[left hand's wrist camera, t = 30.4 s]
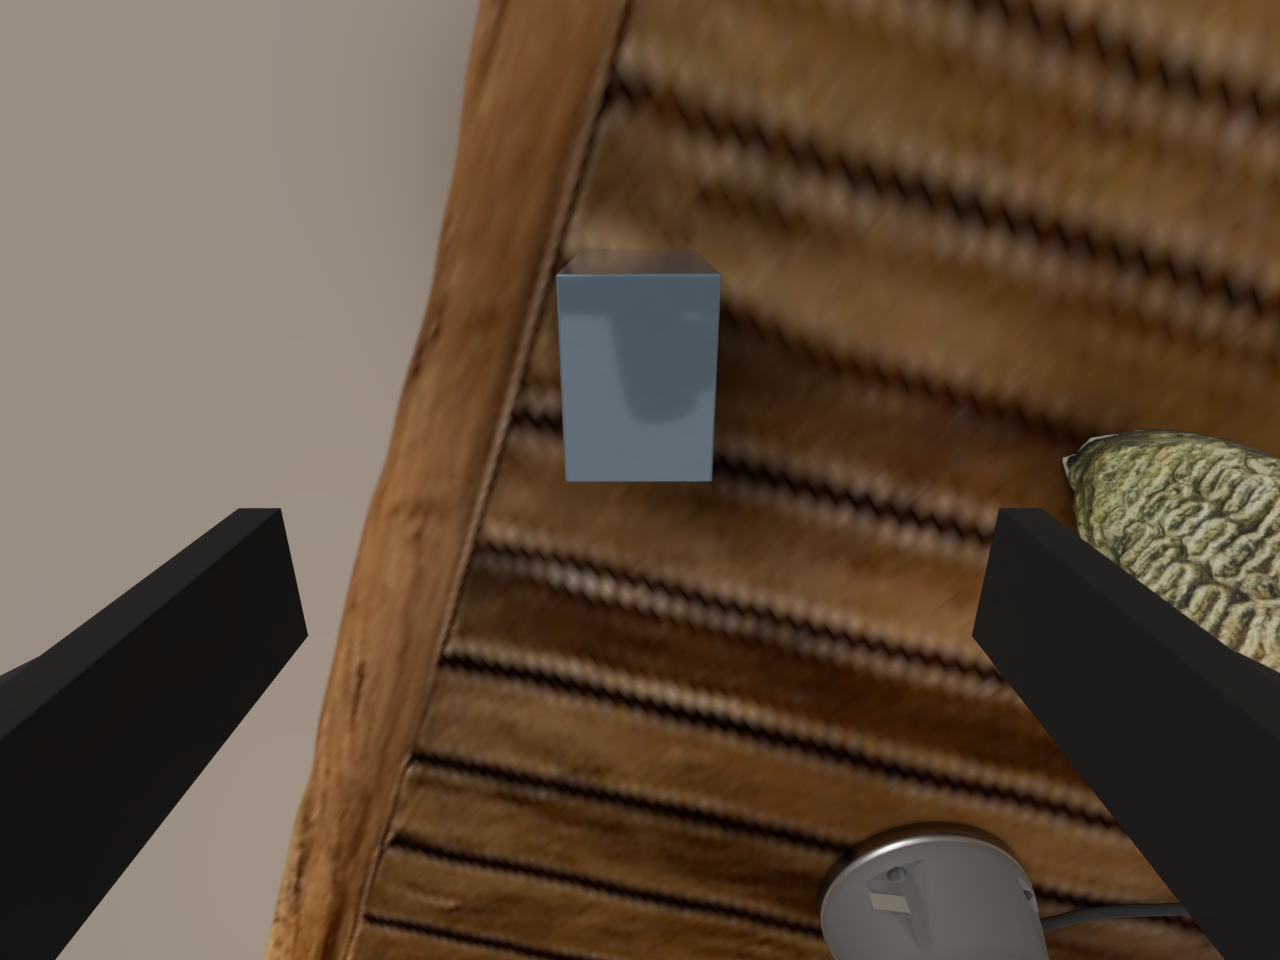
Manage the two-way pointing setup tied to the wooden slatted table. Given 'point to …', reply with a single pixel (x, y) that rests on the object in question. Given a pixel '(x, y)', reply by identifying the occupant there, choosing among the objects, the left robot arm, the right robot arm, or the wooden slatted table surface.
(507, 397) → the wooden slatted table surface
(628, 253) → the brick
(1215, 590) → the fossil
